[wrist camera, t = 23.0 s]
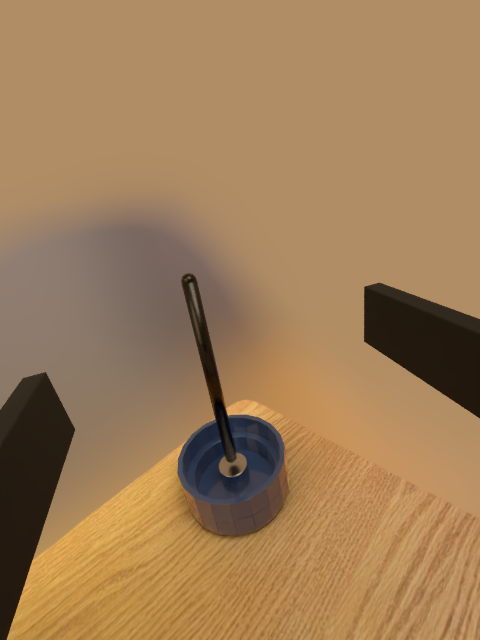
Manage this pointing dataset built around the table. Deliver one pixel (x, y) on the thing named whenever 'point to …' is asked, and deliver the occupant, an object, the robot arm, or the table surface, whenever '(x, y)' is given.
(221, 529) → the bowl
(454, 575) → the table surface
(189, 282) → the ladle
